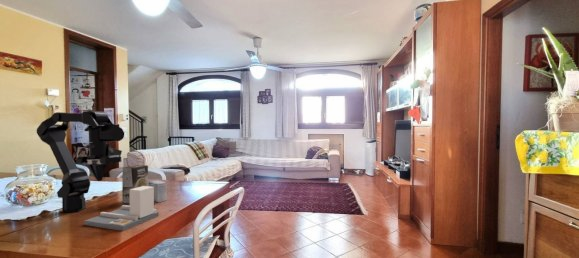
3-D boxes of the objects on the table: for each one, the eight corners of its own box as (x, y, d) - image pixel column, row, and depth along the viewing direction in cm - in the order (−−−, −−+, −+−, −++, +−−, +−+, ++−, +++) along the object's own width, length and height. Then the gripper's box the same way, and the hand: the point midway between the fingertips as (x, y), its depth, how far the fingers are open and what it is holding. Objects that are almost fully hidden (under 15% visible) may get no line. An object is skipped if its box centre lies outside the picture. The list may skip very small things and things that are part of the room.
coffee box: (133, 203, 115) (133, 168, 115) (121, 202, 116) (121, 167, 116) (148, 198, 124) (148, 165, 124) (137, 197, 125) (137, 164, 125)
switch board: (84, 224, 90) (84, 217, 90) (123, 211, 104) (123, 204, 104) (123, 230, 85) (123, 222, 85) (158, 215, 99) (158, 209, 99)
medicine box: (166, 200, 120) (166, 182, 120) (157, 202, 116) (157, 184, 116) (157, 198, 124) (157, 180, 124) (148, 200, 121) (148, 181, 121)
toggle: (127, 216, 93) (127, 189, 93) (141, 211, 99) (141, 185, 99) (140, 218, 92) (140, 190, 92) (153, 212, 97) (153, 186, 97)
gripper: (133, 140, 107) (134, 177, 107) (103, 141, 113) (104, 176, 113) (105, 141, 96) (107, 183, 96) (74, 143, 103) (76, 181, 103)
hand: (99, 180), depth 102 cm, fingers closed
